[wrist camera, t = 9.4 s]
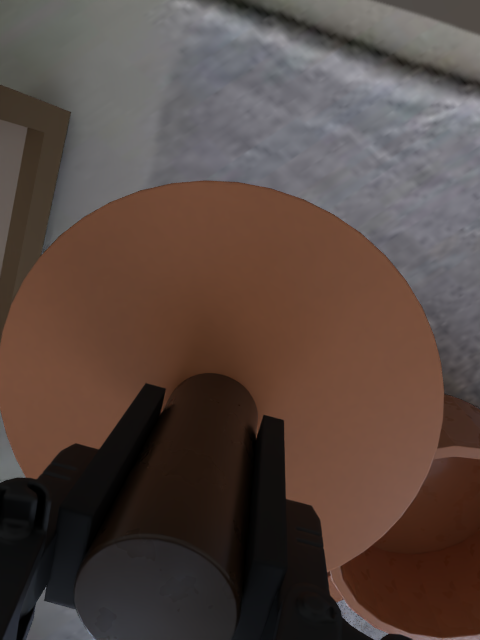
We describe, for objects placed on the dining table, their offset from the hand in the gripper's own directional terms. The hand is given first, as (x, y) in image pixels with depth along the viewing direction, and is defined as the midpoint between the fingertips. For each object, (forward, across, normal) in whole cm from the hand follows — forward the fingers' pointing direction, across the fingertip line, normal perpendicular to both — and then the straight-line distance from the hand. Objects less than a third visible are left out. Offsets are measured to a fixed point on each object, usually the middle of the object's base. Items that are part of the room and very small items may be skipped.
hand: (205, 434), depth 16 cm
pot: (+21, +18, -12) cm, 30 cm away
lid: (+2, 0, 0) cm, 2 cm away
